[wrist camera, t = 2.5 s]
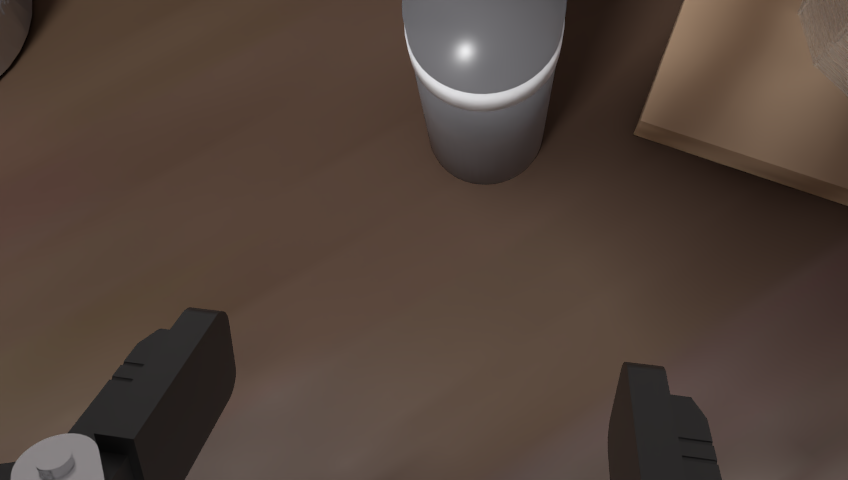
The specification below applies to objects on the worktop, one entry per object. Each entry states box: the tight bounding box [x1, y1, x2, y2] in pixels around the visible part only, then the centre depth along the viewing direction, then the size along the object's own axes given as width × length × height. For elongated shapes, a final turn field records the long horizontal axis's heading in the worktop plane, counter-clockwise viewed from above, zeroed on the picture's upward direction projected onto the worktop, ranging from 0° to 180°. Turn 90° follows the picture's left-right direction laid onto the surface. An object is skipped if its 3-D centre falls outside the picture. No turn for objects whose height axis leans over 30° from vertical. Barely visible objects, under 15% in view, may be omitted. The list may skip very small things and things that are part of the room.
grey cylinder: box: [402, 0, 567, 185], centre depth 27 cm, size 5×5×10 cm
